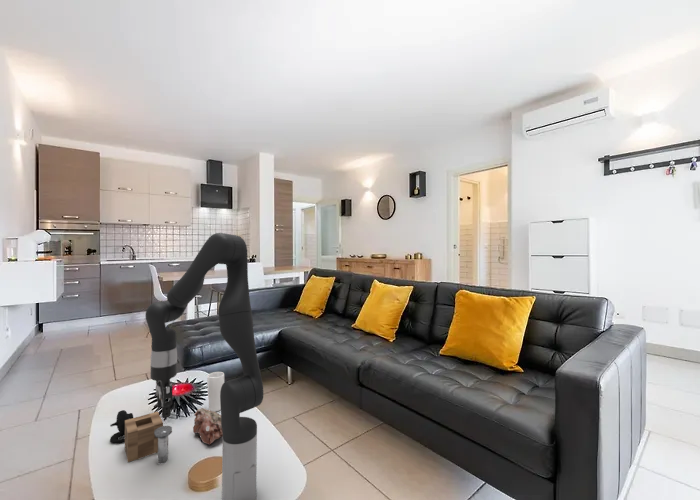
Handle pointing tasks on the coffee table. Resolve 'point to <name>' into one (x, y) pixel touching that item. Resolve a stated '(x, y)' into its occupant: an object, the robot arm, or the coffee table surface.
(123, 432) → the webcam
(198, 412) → the rock
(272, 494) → the coffee table surface
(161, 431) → the pin
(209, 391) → the drinking glass
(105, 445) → the coffee table surface
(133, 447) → the block
